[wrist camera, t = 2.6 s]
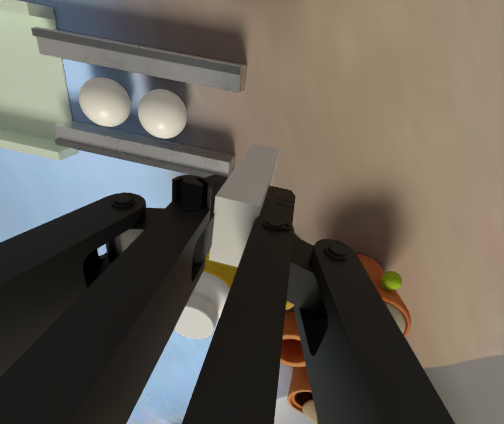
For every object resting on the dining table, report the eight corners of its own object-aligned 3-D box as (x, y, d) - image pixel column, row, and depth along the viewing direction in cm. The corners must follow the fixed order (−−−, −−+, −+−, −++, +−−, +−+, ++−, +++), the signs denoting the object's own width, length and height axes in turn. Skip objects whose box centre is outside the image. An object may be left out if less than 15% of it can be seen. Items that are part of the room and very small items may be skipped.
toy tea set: (235, 243, 30) (207, 313, 22) (386, 222, 26) (425, 298, 18) (286, 384, 41) (281, 466, 33) (399, 385, 37) (426, 480, 29)
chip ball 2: (152, 128, 25) (129, 138, 22) (151, 83, 23) (126, 86, 20) (192, 136, 25) (175, 148, 21) (194, 91, 23) (176, 96, 20)
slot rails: (75, 138, 27) (55, 145, 25) (57, 29, 22) (30, 26, 20) (232, 173, 26) (226, 183, 24) (247, 65, 21) (240, 65, 19)
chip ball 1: (101, 117, 25) (71, 126, 22) (96, 72, 23) (62, 74, 20) (140, 125, 25) (115, 135, 22) (138, 80, 23) (110, 83, 20)
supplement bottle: (202, 224, 29) (161, 290, 21) (251, 238, 29) (228, 311, 21) (196, 261, 32) (157, 334, 24) (241, 275, 32) (217, 352, 23)
